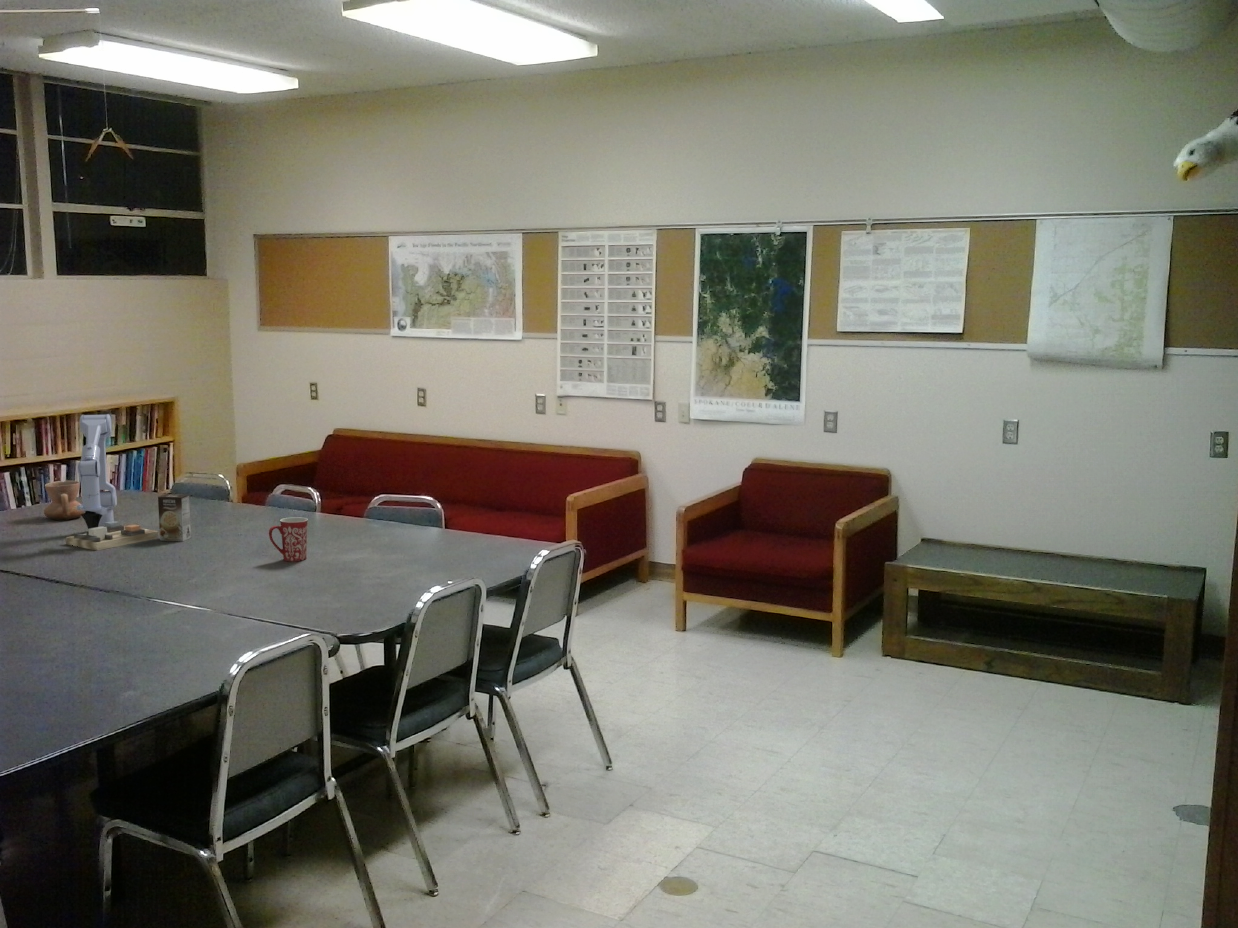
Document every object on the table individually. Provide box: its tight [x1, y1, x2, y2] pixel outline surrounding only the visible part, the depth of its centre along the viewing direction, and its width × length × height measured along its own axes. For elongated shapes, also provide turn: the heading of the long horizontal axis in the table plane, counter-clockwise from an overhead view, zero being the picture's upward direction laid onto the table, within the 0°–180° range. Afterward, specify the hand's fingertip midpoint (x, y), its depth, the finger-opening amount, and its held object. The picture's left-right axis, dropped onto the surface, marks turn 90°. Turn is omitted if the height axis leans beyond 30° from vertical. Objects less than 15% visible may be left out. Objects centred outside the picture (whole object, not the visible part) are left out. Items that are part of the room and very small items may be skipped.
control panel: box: [65, 524, 159, 551], centre depth 387 cm, size 18×24×4 cm
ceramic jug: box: [43, 480, 85, 521], centre depth 426 cm, size 18×14×14 cm
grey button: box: [104, 520, 121, 528], centre depth 393 cm, size 4×4×2 cm
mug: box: [268, 516, 309, 562], centre depth 360 cm, size 13×9×14 cm
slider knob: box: [88, 526, 107, 540], centre depth 378 cm, size 3×5×4 cm, turn 149°
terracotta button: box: [124, 524, 141, 531], centre depth 387 cm, size 4×4×2 cm
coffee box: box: [157, 493, 192, 542], centre depth 390 cm, size 9×6×16 cm
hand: (93, 532), depth 379 cm, fingers closed
